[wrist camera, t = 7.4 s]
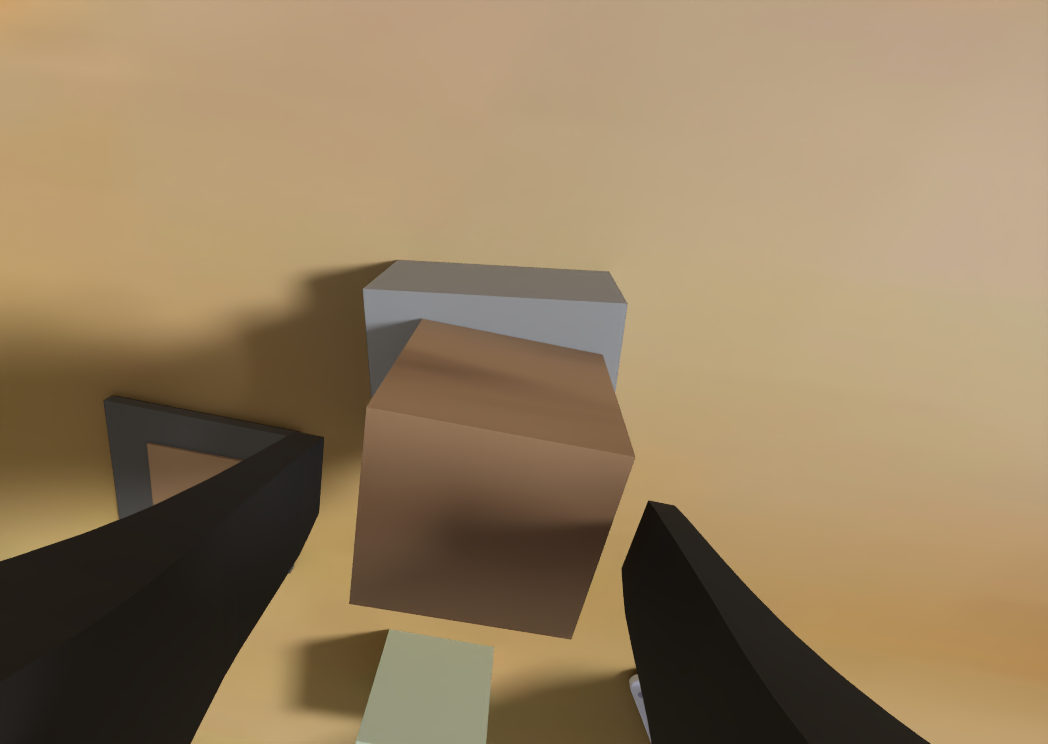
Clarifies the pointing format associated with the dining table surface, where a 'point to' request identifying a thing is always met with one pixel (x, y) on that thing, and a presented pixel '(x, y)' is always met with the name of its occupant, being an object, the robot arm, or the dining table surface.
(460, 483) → the walnut block
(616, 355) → the slate base
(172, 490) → the card
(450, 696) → the sage block
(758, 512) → the dining table surface
